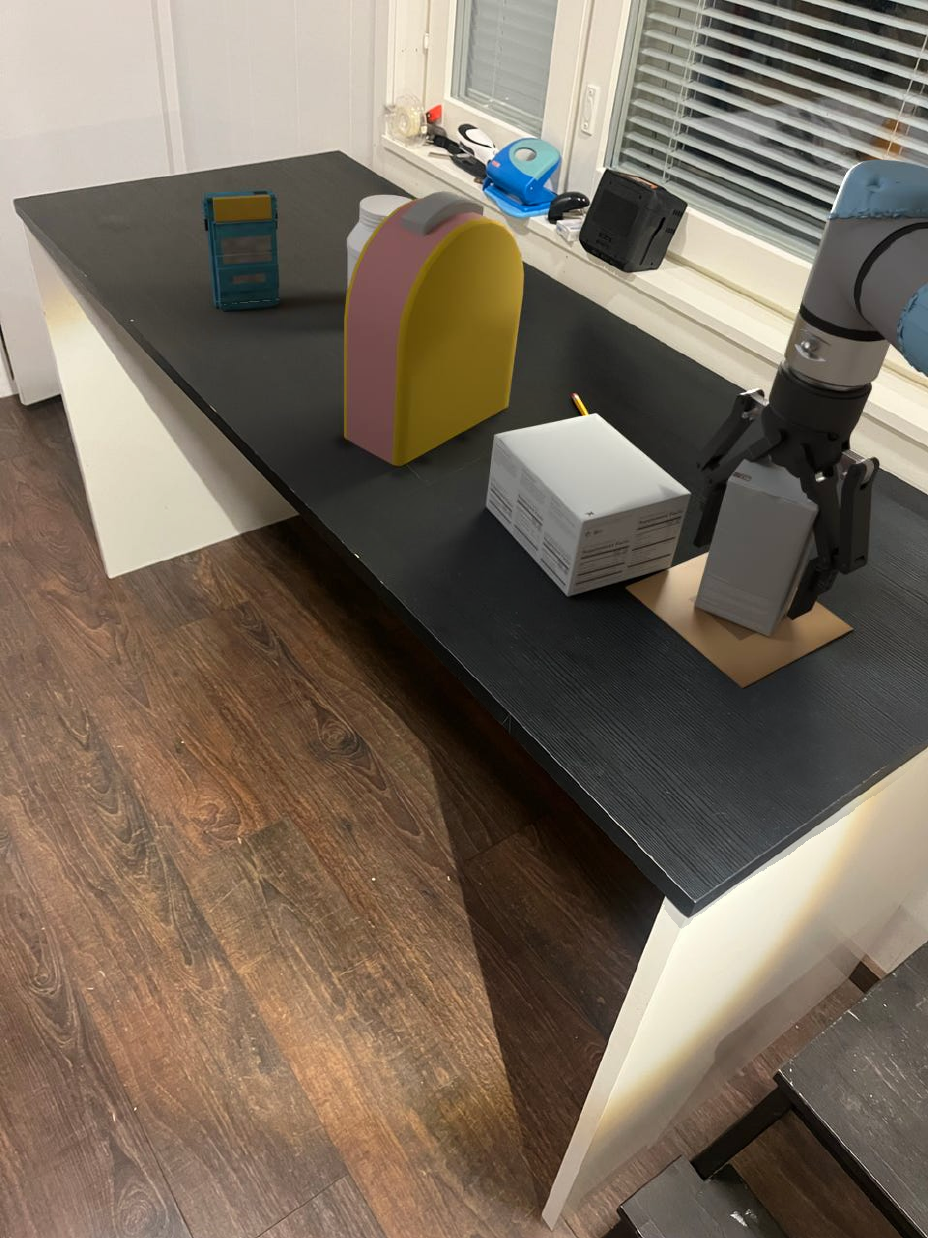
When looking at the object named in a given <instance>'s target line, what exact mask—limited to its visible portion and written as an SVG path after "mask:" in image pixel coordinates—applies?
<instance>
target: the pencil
mask: <svg viewBox="0 0 928 1238" xmlns="http://www.w3.org/2000/svg"><path fill="white" fill-rule="evenodd" d="M571 397H572V400H573V401H574V403H575V405H576V407H577V409H578V411H579V412H580V414H581V416H585V415H590V414H589V412H588V411H587V409H586V407H585V406H584V404H583V402H582V401H581V399H580V397H579V395H578V393H572V394H571Z"/></svg>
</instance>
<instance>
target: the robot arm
mask: <svg viewBox="0 0 928 1238" xmlns="http://www.w3.org/2000/svg"><path fill="white" fill-rule="evenodd" d="M825 220H826V222H825V225H824V228H823V232H822V234H821V238H820V241H819V244H818V247H817V250H816V253H815V255H814V256H815V257H814V260H813V263H812V266H811V269H810V272H809V275H808V278H807V281H806V284H805V288H804V291H803V294H802V297H801V301H800V305H799V307H798V310H797V312H796V315H795V318H794V322H793V324H792V327H791V330H790V333H789V337H788V339H787V342H786V344H785V345H786V346H785V348H784V351H783V357H784V359H783V360H782V361H780V363H779V365H778V368H777V370H776V373H775V375H774V379H773V382H772V385H771V388H770V392H769V395H768V399H766V398H765V397H766V395H765V392H764V390H763V389H762V388H759V387H758V388H754V389H752V390H748V391H745V392H741V393H739V394H737V396H736V397H735V400H734V403H733V405H732V409H731V411H730V414H729V415H728V417H727V418H726V419H725V420H724V422H723V423H722V424H721V426H719V428H718V429H717V431H716V432H715V433H714V434H713V436H712V437H711V438H710V439H709V441H708V442H707V443H706V445H705V446H704V447H703V448H702V450H701V451H699V453H698V454H697V456H696V457H695V458H694V459H693V461H692V465H691V466H692V469H693V471H695V472H697V473H699V472H700V473H701V475H702V476H703V482H704V488H703V489H702V490H703V491H702V494H701V498H700V501H699V504H698V510H699V511H700V512H701V513H702V515H701V518H700V521H699V524H698V527H697V530H696V533H695V536H694V539H693V543H692V544H693V546H695V547H696V548H697V549H700V548H702V547H705V546H707V545H711V542H712V539H713V535H714V532H715V528H716V524H717V521H718V517H719V513H720V510H721V506H722V502H723V499H724V495H725V491H726V487H727V482H728V479H729V478H730V476H731V475H732V474H733V473H734V471H735V470H736V469H737V467H738V466H739V465H740V464H741V462H742V461H743V460H744V459H746V460H748V461H749V462H752V461H755V460H757V459H760V458H763V457H765V456H768V455H770V457H771V462H773V463H774V464H776V465H778V466H781V467H784V468H785V469H786V470H787V471H788V472H789V473H790V474H791V475H793V476H794V477H796V478H797V479H798V478H800V483H801V489H802V491H803V492H804V493H806V495H807V498H808V499H810V500H811V501H812V502H814V503H815V504H817V505H818V507H819V511H818V513H817V515H816V518H815V520H814V523H813V525H812V527H813V532H814V538H815V539H814V542H815V543H814V544H815V548H816V553H817V556H816V557H814V558H812V559H809V560H808V563H807V565H806V566H805V567H806V568H805V569H804V571H803V573H802V576H801V578H800V581H799V583H798V586H797V588H798V589H797V591H796V593H795V596H794V598H793V600H792V603H791V605H790V608H789V610H788V612H787V615H786V616H787V617H789V618H790V619H791V620H794V619H796V618H798V617H800V616H802V615H804V614H806V613H808V612H810V611H811V610H812V608H813V606H814V604H815V601H816V602H817V599H818V597H819V596H822V594H823V595H824V594H825V593H827V592H829V591H830V590H832V588H833V585H834V583H835V581H836V579H837V576H838V574H839V573H840V574H841V575H845V576H846V575H849V574H851V573H853V572H855V571H857V570H859V569H861V568H864V567H865V566H867V564H868V563H869V547H870V546H869V545H870V527H871V511H872V510H871V509H872V490H873V483H874V481H875V478H876V476H877V474H878V470H879V469H880V465H881V464H880V460H879V458H877V457H876V456H869V457H865V458H864V457H863V456H862V455H859V454H858V453H856V452H854V451H852V450H851V435H852V433H853V432H854V430H855V428H856V427H857V425H858V423H859V421H860V419H861V416H862V414H863V412H864V409H865V407H866V404H867V402H868V399H869V397H870V395H871V393H872V390H873V384H872V383H873V382H874V381H876V379H877V378H878V377H879V375H880V374H879V373H880V371H881V370H882V367H883V364H884V361H885V359H886V356H887V354H888V351H889V348H890V346H892V347H893V348H894V349H895V350H896V351H897V352H898V353H899V354H900V355H901V356H902V357H903V358H904V360H905V361H906V362H907V363H908V365H910V367H913V368H914V370H915V371H916V372H917V373H922V374H923V375H924V376H925V377H926V378H928V167H925V166H922V165H919V164H915V163H910V162H906V161H901V160H892V159H870V160H864V161H861V162H858V163H857V164H855V165H853V166H851V168H850V169H848V171H847V172H846V174H845V175H844V177H843V180H842V183H841V185H840V188H839V190H838V193H837V196H836V199H835V201H834V203H833V205H832V209H831V210H830V212H828V214H827V215H826V219H825ZM759 418H760V422H761V427H762V432H763V435H764V436H762V437H761V438H760V439H758V440H756V441H755V442H754V443H752V444H750V445H749V446H748V447H747V448H746V449H744V450H743V451H741V452H740V453H738V454H736V455H735V456H733V457H732V458H731V459H729V460H727V461H725V462H723V464H721V463H720V462H721V461H722V460H723V459H724V458H725V457H726V456H727V454H728V453H729V452H730V451H731V450H732V448H733V447H734V446H735V445H736V443H737V442H739V440H740V439H741V437H742V436H743V435H744V434H745V433H746V431H747V430H748V429H749V428H750V427H751V426H752V424H753V423H754V422H755V420H756V419H759ZM838 464H840V467H841V470H842V472H841V473H840V475H839V470H838V466H837V465H838ZM821 472H822V477H821V478H819V479H816V478H815V475H816V474H819V473H821ZM840 480H841V481H843V482H842V485H841V490H840V500H839V494H838V487H837V485H838V483H839V481H840Z"/></svg>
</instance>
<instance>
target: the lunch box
mask: <svg viewBox="0 0 928 1238" xmlns="http://www.w3.org/2000/svg"><path fill="white" fill-rule="evenodd" d="M411 200H412V201H410V202H408V203H406V204H404V205H402V206H400V207H398V208H397V209H395V210H394V211H393V212H392V213H391V214H390V215H389V216H388V217H387V218H385V219H384V220H383V221H382V222H381V223H380V224H379V225H378V227H377V228H376V229H375V231H374V232H373V234H372V235H371V236H370V238H369V239H368V241H367V242H366V244H365V245H364V247H363V249H362V252H361V254H360V256H359V258H358V260H357V262H356V264H355V267H354V269H353V273H352V276H351V280H350V284H349V287H348V291H347V292H346V298H345V308H344V318H343V321H344V322H343V323H344V324H343V328H344V329H343V331H344V332H343V334H344V335H343V337H344V339H343V340H344V341H343V347H344V349H343V366H344V367H343V388H344V389H343V437H344V438H345V439H346V440H347V441H349V442H350V443H352V444H354V445H356V446H358V447H360V448H361V449H363V450H365V451H367V452H369V453H371V454H372V455H374V456H376V457H378V458H379V459H381V460H383V461H385V462H387V463H388V464H389V465H392V466H395V467H402V466H404V465H406V464H408V463H409V462H411V461H413V460H415V459H417V458H419V457H420V456H422V455H424V454H426V453H428V452H429V451H431V450H433V449H435V448H436V447H438V446H441V445H442V444H444V443H446V442H447V441H449V440H451V439H453V438H455V437H456V436H458V435H459V434H462V433H463V432H466V431H467V430H469V429H471V428H473V427H474V426H476V425H479V424H480V423H481V422H483V421H485V420H487V419H489V418H491V417H492V416H494V415H496V414H498V413H500V412H501V411H503V410H505V409H507V408H509V403H510V396H511V395H510V394H511V387H512V379H513V373H514V372H513V371H514V366H515V365H514V364H515V357H516V349H517V342H518V333H519V326H520V320H521V319H520V318H521V311H522V303H523V295H524V279H525V278H524V277H525V272H524V263H523V257H522V252H521V250H520V248H519V245H518V243H517V239H516V238H515V236H514V234H513V233H512V231H510V229H508V227H506V225H504V223H502V222H501V221H498V220H496V219H493V218H491V217H489V216H485V215H484V208H485V206H484V205H483V203H481V202H478V201H476V200H473V199H471V198H468V197H466V196H463V195H460V194H458V193H455V192H451V191H445V190H444V191H443V190H442V191H437V192H436V191H435V192H433V193H430V194H428V195H426V196H424V197H422V198H414V199H411Z"/></svg>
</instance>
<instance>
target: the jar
mask: <svg viewBox="0 0 928 1238" xmlns="http://www.w3.org/2000/svg"><path fill="white" fill-rule="evenodd" d="M412 200H413V199H411V198H409V197H405V196H402V195H401V196H400V195H395V194H375V195H369V196H367V197H364V198H362V199H361V200H360V202H359V211H358V212H359V219H358V221H357V222H356V224H355V226H354V227H353V228H352V230H351V231H350V232H349V234H348V236H347V238H346V249H347V291H348V287H349V284H350V280H351V276H352V273H353V269H354V267H355V264H356V262H357V260H358V258H359V256H360V254H361V252H362V249H363V247H364V245H365V244H366V242H367V241H368V239H369V238H370V236H371V235H372V234H373V232H374V231H375V229H376V228H377V227H378V225H379V224H380V223H381V222H382V221H383V220H384V219H385V218H387V217H388V216H389V215H390V214H391V213H392V212H393V211H394V210H395V209H397V208H398V207H400V206H402V205H404V204H406V203H408V202H410V201H412Z"/></svg>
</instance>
